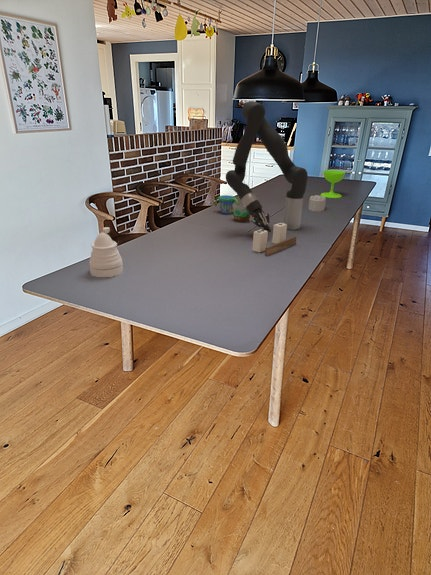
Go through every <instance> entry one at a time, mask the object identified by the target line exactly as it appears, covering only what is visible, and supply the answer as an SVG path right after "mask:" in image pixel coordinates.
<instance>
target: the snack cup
mask: <svg viewBox="0 0 431 575" xmlns="http://www.w3.org/2000/svg"><path fill="white" fill-rule="evenodd" d="M217 201H218V202H219V210H220V213H221V214H225V215H226V214H227V215H228V214H229V215H230V214H232V213H233V212H234V208H233V207H232V206H233V203H234V204H239V201H238V199H237V198H236V196H234V195H229V194H228V195H225V194H224V195H219V196H218V197H216V198H215V201H214V206H215V207H217V206H218V203H217Z"/></svg>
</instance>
